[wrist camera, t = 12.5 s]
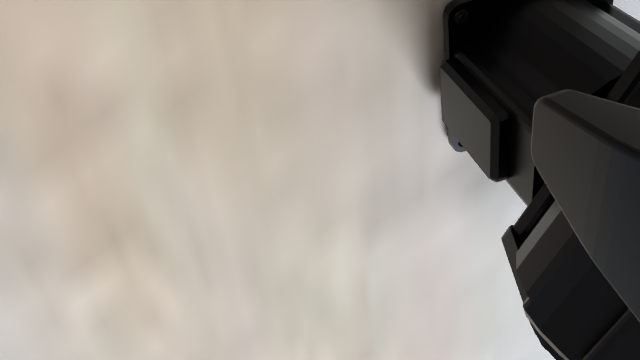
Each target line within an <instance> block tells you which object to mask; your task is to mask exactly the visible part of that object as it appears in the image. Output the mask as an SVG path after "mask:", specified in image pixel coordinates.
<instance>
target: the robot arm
mask: <svg viewBox="0 0 640 360" xmlns="http://www.w3.org/2000/svg"><path fill="white" fill-rule="evenodd" d="M461 10H463V14H462V15H461V17H460V18H458V19H455V15H456V14H457V12H459V11H461ZM443 25H444V49H445V60H444V61H443V62H442V64H441V66H440V84H441V105H442V120H443V122H444V123H445V124H446V126H447V127H448V141H449V144H450V145H451V146H452V147H453V149H454V150H455V151H458V152H463V151H467V152H468V153H469V154H470V156H471V157H472V158H473V159H474V161H475V162H476V163H477V164H478V166H479V167H480V168H481V169H482V171H483V172H484V173H485V174H486V176H487V177H488V178H489V179H491V180H493V181H494V182H499V181H502V180H506V181H507V182H508V184H509V185H510V186H511V187H512V188H513V190H514V191H515V192H516V193H517V194H518V196H519V197H520V198H521V199H522V200H523V202H524V203H525V204H526V205H527V208H526V209H525V211H524V212H523V213H522V215H521V216H520V218H519V219H518V220H517V222H516V223H515V225H511V226H509V228H508V229H507V231H506V232H505V233H504V235H503V236H502V238H501V239H502V242H503V245H504V248H505V251H506V254H507V257H508V260H509V263H510V266H511V269H512V272H513V275H514V277H515V280H516V283H517V286H518V289H519V292H520V295H521V298H522V301H523V308H524V311H525V314H526V317H527V318H528V319H529V321H530V324H531V326H532V328H533V330H534V332H535V334H536V335H537V337H538V338H539V341H540V343H541V345H542V346H543V347H544V348H545V349H546V350H547V351H549V353H550V354H551V355H552V356H553V357H554V358H555V359H556V360H640V21H638V20H637V19H635V18H633V17H632V16H630V15H628V14H627V13H625V12H623V11H622V10H620V9H618V8H617V7H615V6H613V0H453V1H451V2H450V3H449V4H448V5H447V6H446V8H445V10H444V14H443Z"/></svg>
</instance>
